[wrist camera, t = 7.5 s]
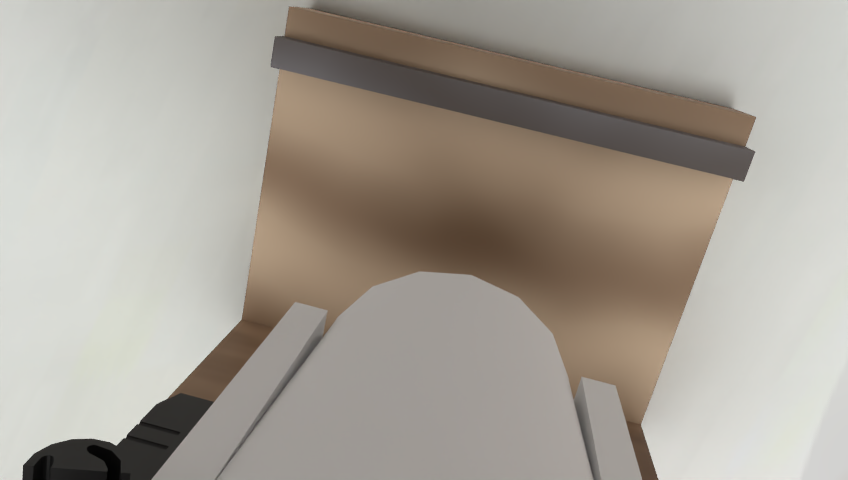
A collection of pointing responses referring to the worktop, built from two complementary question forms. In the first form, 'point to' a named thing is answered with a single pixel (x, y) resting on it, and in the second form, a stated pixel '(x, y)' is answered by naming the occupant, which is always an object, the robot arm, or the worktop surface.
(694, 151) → the wooden display stand
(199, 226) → the worktop surface
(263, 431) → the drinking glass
